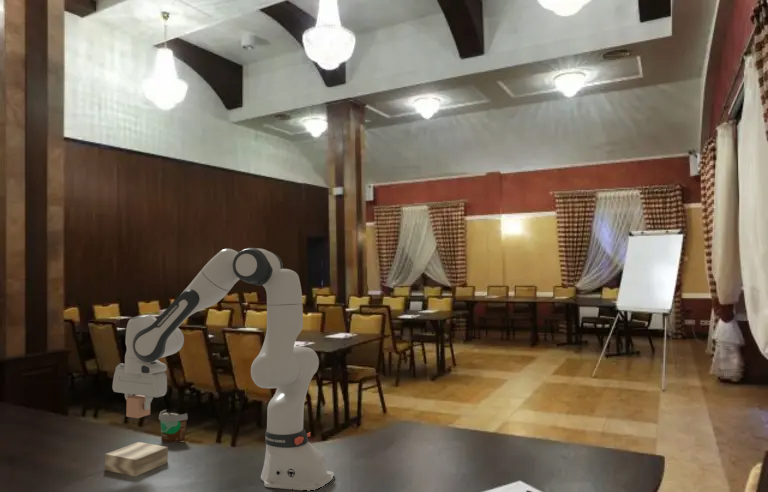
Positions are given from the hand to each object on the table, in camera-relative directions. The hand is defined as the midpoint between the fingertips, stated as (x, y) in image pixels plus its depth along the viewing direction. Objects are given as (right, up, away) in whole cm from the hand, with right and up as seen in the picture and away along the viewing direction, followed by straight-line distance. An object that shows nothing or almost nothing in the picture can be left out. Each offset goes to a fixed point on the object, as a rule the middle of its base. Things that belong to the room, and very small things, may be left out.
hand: (138, 408), depth 173 cm
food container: (0, -20, +25) cm, 32 cm away
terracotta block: (0, -2, 0) cm, 2 cm away
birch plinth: (0, -18, -1) cm, 18 cm away
